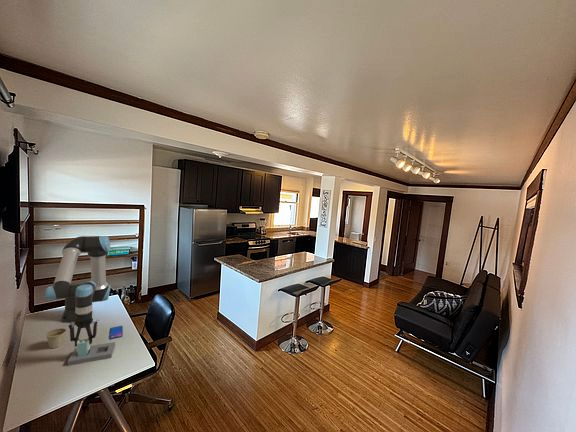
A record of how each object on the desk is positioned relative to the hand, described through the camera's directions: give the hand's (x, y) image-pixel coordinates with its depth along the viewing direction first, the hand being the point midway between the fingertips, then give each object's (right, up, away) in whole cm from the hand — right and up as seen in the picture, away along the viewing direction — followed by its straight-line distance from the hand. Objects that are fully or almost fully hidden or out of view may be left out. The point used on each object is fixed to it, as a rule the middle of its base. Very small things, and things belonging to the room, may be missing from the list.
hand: (83, 350), depth 143 cm
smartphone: (+1, -3, +26) cm, 26 cm away
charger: (0, -2, 0) cm, 2 cm away
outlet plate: (+4, -4, +3) cm, 6 cm away
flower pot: (-24, -2, +8) cm, 25 cm away
